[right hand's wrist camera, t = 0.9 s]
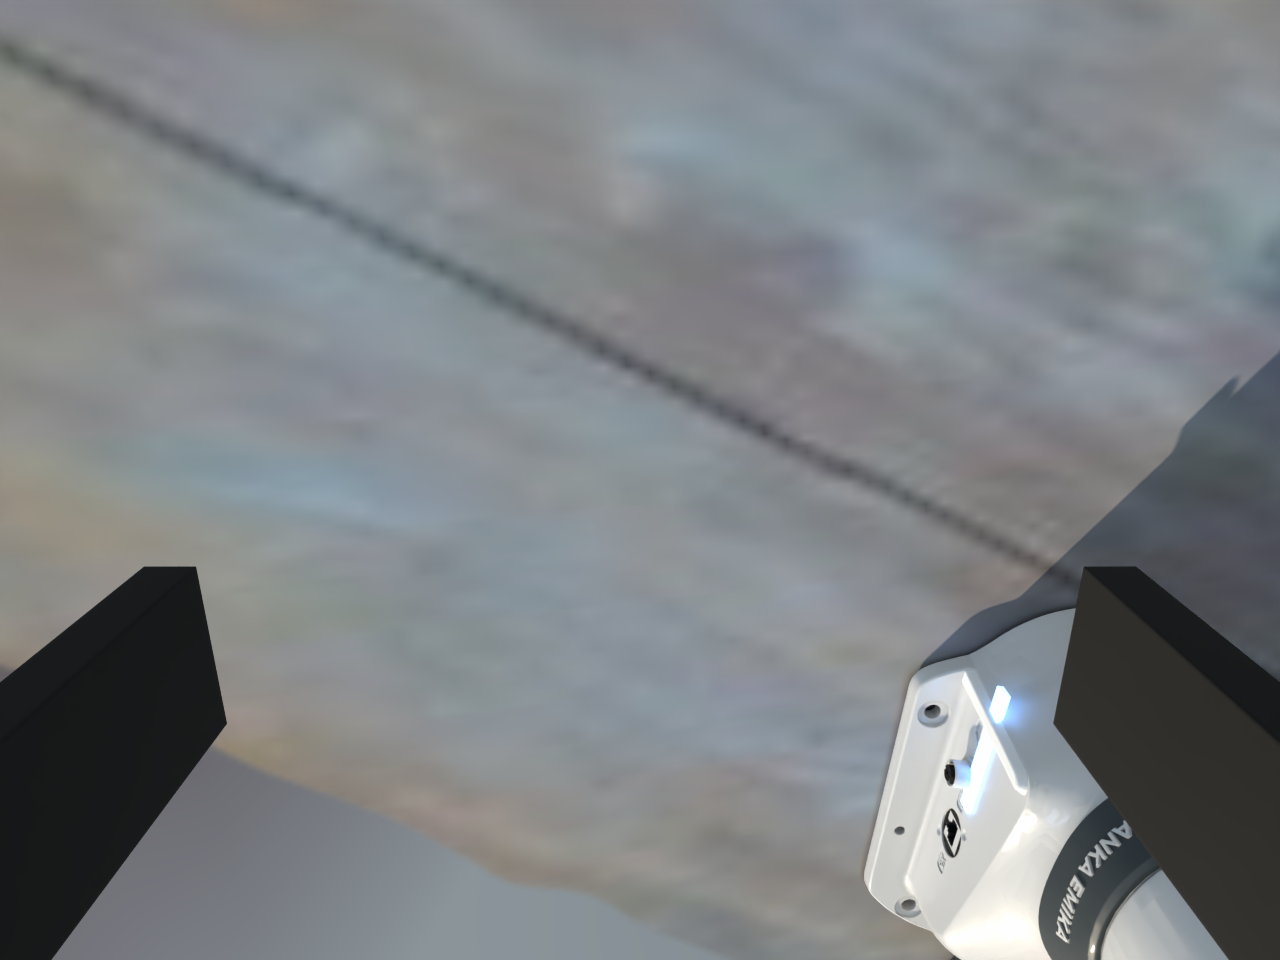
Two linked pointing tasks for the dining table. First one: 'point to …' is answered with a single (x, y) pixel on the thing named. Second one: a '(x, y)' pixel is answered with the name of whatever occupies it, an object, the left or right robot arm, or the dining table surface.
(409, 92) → the dining table surface
